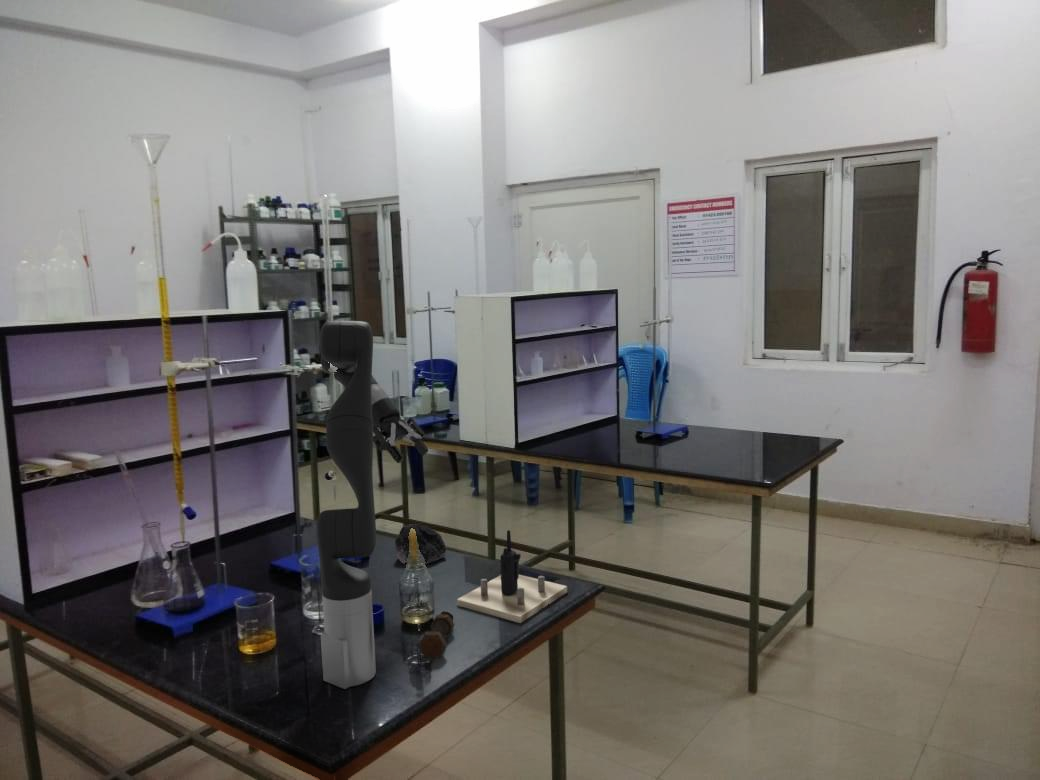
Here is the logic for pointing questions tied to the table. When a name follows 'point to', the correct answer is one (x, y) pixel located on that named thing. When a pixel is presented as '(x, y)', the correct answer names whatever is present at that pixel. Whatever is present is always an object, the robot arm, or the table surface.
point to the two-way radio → (509, 569)
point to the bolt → (436, 636)
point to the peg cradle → (513, 598)
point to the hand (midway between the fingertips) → (413, 457)
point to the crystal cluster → (420, 543)
